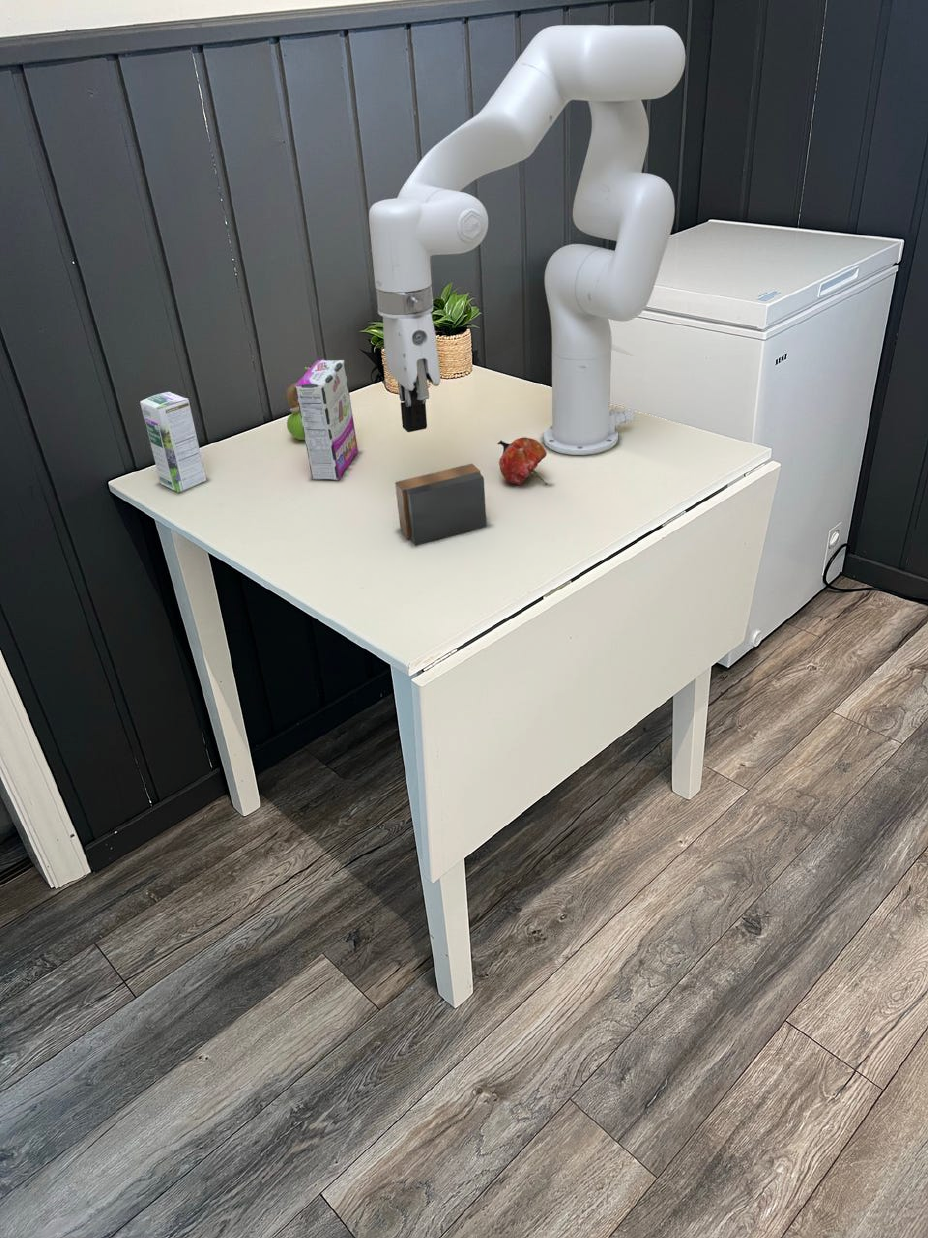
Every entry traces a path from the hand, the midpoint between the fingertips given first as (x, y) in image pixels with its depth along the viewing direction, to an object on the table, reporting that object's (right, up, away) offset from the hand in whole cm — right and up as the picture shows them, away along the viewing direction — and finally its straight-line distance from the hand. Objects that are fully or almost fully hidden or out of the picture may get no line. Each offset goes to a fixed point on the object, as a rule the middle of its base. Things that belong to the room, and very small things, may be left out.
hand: (415, 428), depth 137 cm
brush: (+4, -14, +1) cm, 15 cm away
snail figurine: (-21, +5, +32) cm, 38 cm away
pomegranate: (+17, -6, +13) cm, 22 cm away
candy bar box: (-15, -2, +21) cm, 26 cm away
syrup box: (-39, -5, +20) cm, 44 cm away
